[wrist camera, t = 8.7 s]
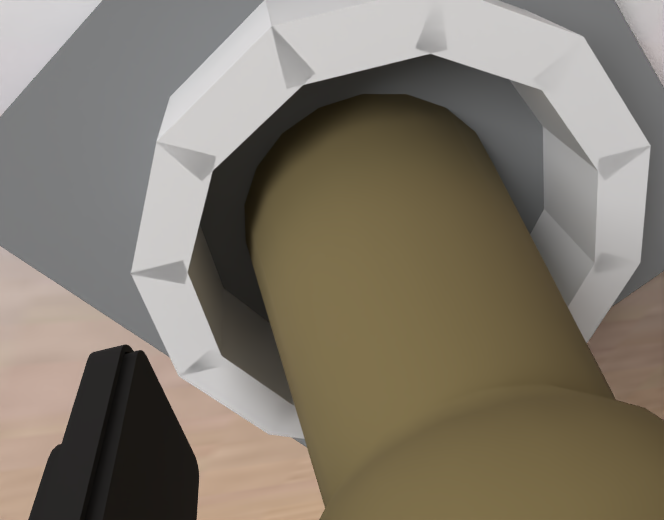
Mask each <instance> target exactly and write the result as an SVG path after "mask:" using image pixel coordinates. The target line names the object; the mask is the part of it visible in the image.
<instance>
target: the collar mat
mask: <svg viewBox="0 0 664 520" xmlns="http://www.w3.org/2000/svg"><path fill="white" fill-rule="evenodd" d="M361 94H408V95H411V96H413V97H416V98H419V99H422V100H425V101H428V102H431V103H434V104H437V105H440V106H442V107H445V108H447V109H448V110H449V111H451V112H452V113H453V114H454V115H455V116H457V117H458V118H459V119H460V120H461V121H463V122H464V123H465V124H466V125H467V126H469V127H470V128H471V129H472V130H474V131H475V132H476V134H477V135H478V137H479V139H480V141H481V143H482V144H483V146H484V148H485V150H486V152H487V153H488V155H489V157H490V159H491V161H492V162H493V164H494V166H495V168H496V170H497V172H498V174H499V176H500V178H501V180H502V182H503V183H504V185H505V187H506V189H507V191H508V193H509V195H510V197H511V199H512V201H513V203H514V205H515V207H516V208H517V210H518V212H519V214H520V216H521V218H522V220H523V222H524V224H525V226H526V228H527V230H528V232H529V233H530V235H531V237H532V239H533V241H534V243H535V245H536V247H537V249H538V251H539V253H540V255H541V257H542V259H543V260H544V262H545V264H546V266H547V268H548V270H549V272H550V274H551V276H552V278H553V280H554V282H555V284H556V285H557V287H558V289H559V291H560V293H561V295H562V297H563V299H564V301H565V303H566V305H567V307H568V309H569V310H570V312H571V314H572V316H573V318H574V320H575V322H576V324H577V326H578V328H579V330H580V332H581V334H582V335H583V337H584V339H585V341H586V343H587V342H588V341H589V339H590V338H591V336H592V335H593V333H594V332H595V330H596V329H597V327H598V326H599V324H600V323H601V321H602V320H603V318H604V317H605V315H606V314H607V312H608V311H609V309H610V308H611V307H612V306H614V305H615V304H616V303H618V302H619V301H621V300H622V299H624V298H625V297H627V296H628V295H630V294H631V293H632V292H634V291H635V290H637V289H638V288H640V287H641V286H643V285H644V284H645V283H647V282H648V281H650V280H651V279H653V278H654V277H656V276H657V275H659V274H660V273H661V272H663V271H664V87H663V86H662V84H661V82H660V80H659V78H658V77H657V75H656V73H655V71H654V70H653V68H652V66H651V64H650V62H649V61H648V59H647V57H646V55H645V54H644V52H643V50H642V48H641V47H640V45H639V43H638V41H637V39H636V38H635V36H634V34H633V32H632V31H631V29H630V27H629V25H628V23H627V22H626V20H625V18H624V16H623V15H622V13H621V11H620V9H619V7H618V6H617V4H616V2H615V0H103V1H102V2H101V3H100V4H99V5H98V6H97V7H96V9H95V10H94V11H93V12H92V13H91V14H90V15H89V16H88V18H87V19H86V20H85V21H84V22H83V23H82V24H81V26H80V27H79V28H78V29H77V30H76V31H75V32H74V34H73V35H72V36H71V37H70V38H69V39H68V40H67V42H66V43H65V44H64V45H63V46H62V47H61V48H60V49H59V51H58V52H57V53H56V54H55V55H54V56H53V57H52V59H51V60H50V61H49V62H48V63H47V64H46V65H45V67H44V68H43V69H42V70H41V71H40V72H39V73H38V75H37V76H36V77H35V78H34V79H33V80H32V81H31V82H30V84H29V85H28V86H27V87H26V88H25V89H24V90H23V92H22V93H21V94H20V95H19V96H18V97H17V98H16V100H15V101H14V102H13V103H12V104H11V105H10V106H9V108H8V109H7V110H6V111H5V112H4V113H3V114H2V115H1V117H0V246H1V247H3V248H4V249H6V250H7V251H9V252H10V253H12V254H13V255H15V256H16V257H18V258H19V259H21V260H22V261H24V262H25V263H27V264H29V265H30V266H32V267H33V268H35V269H36V270H38V271H39V272H41V273H42V274H44V275H45V276H47V277H48V278H50V279H51V280H53V281H54V282H56V283H57V284H59V285H61V286H62V287H64V288H65V289H67V290H68V291H70V292H71V293H73V294H74V295H76V296H77V297H79V298H80V299H82V300H83V301H85V302H86V303H88V304H89V305H91V306H92V307H94V308H96V309H97V310H99V311H100V312H102V313H103V314H105V315H106V316H108V317H109V318H111V319H112V320H114V321H115V322H117V323H118V324H120V325H121V326H123V327H124V328H126V329H127V330H129V331H131V332H132V333H134V334H135V335H137V336H138V337H140V338H141V339H143V340H144V341H146V342H147V343H149V344H150V345H152V346H153V347H155V348H156V349H158V350H159V351H161V352H163V353H164V354H166V355H167V356H169V357H170V358H171V361H172V363H173V365H174V367H175V369H176V371H177V373H178V376H179V377H181V378H182V379H184V380H185V381H187V382H188V383H190V384H192V385H193V386H195V387H196V388H198V389H199V390H201V391H202V392H204V393H206V394H207V395H209V396H210V397H212V398H213V399H215V400H216V401H218V402H220V403H221V404H223V405H224V406H226V407H227V408H229V409H230V410H232V411H234V412H235V413H237V414H238V415H240V416H241V417H243V418H244V419H246V420H247V421H249V422H251V423H252V424H254V425H255V426H257V427H258V428H260V429H261V430H263V431H265V432H266V433H268V434H270V435H278V436H286V437H292V438H293V439H295V440H296V441H298V442H300V443H301V444H303V445H304V446H306V447H307V445H306V442H305V438H304V435H303V432H302V428H301V425H300V422H299V418H298V415H297V412H296V408H295V405H294V402H293V398H292V395H291V392H290V388H289V385H288V381H287V378H286V375H285V371H284V368H283V365H282V361H281V358H280V355H279V351H278V348H277V345H276V341H275V338H274V335H273V331H272V328H271V325H270V321H269V318H268V315H267V311H266V308H265V304H264V301H263V298H262V294H261V291H260V288H259V284H258V281H257V278H256V274H255V271H254V268H253V264H252V261H251V258H250V254H249V251H248V248H247V244H246V236H245V208H244V205H245V202H246V198H247V195H248V192H249V189H250V186H251V183H252V180H253V177H254V174H255V171H256V168H257V166H258V165H259V164H260V162H261V161H262V160H263V158H264V157H265V156H266V154H267V153H268V152H269V150H270V149H271V148H272V146H273V145H274V144H275V142H276V141H277V140H278V139H279V137H280V136H281V135H282V133H284V132H285V131H287V130H288V129H289V128H291V127H292V126H294V125H295V124H297V123H298V122H299V121H301V120H302V119H304V118H305V117H307V116H308V115H309V114H311V113H312V112H314V111H315V110H317V109H318V108H320V107H323V106H326V105H329V104H332V103H336V102H339V101H342V100H345V99H348V98H351V97H354V96H358V95H361Z"/></svg>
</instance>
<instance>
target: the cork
mask: <svg viewBox="0 0 664 520" xmlns="http://www.w3.org/2000/svg"><path fill="white" fill-rule="evenodd" d="M244 208H245V236H246V244H247V248H248V251H249V254H250V258H251V261H252V264H253V268H254V271H255V274H256V278H257V281H258V284H259V288H260V291H261V294H262V298H263V301H264V304H265V308H266V311H267V315H268V318H269V321H270V325H271V328H272V331H273V335H274V338H275V341H276V345H277V348H278V351H279V355H280V358H281V361H282V365H283V368H284V371H285V375H286V378H287V381H288V385H289V388H290V392H291V395H292V398H293V402H294V405H295V408H296V412H297V415H298V418H299V422H300V425H301V428H302V432H303V435H304V438H305V442H306V445H307V448H308V452H309V455H310V458H311V462H312V465H313V469H314V472H315V475H316V479H317V482H318V485H319V489H320V492H321V495H322V499H323V502H324V505H325V510H324V512H323V514H322V516H321V518H320V519H319V520H664V420H662V419H661V418H659V417H658V416H656V415H655V414H653V413H652V412H650V411H648V410H647V409H645V408H643V407H639V406H636V405H632V404H628V403H624V402H621V401H617V400H616V399H615V397H614V395H613V393H612V391H611V389H610V387H609V386H608V384H607V382H606V380H605V378H604V376H603V374H602V372H601V370H600V368H599V366H598V364H597V362H596V361H595V359H594V357H593V355H592V353H591V351H590V349H589V347H588V345H587V343H586V341H585V339H584V337H583V335H582V334H581V332H580V330H579V328H578V326H577V324H576V322H575V320H574V318H573V316H572V314H571V312H570V310H569V309H568V307H567V305H566V303H565V301H564V299H563V297H562V295H561V293H560V291H559V289H558V287H557V285H556V284H555V282H554V280H553V278H552V276H551V274H550V272H549V270H548V268H547V266H546V264H545V262H544V260H543V259H542V257H541V255H540V253H539V251H538V249H537V247H536V245H535V243H534V241H533V239H532V237H531V235H530V233H529V232H528V230H527V228H526V226H525V224H524V222H523V220H522V218H521V216H520V214H519V212H518V210H517V208H516V207H515V205H514V203H513V201H512V199H511V197H510V195H509V193H508V191H507V189H506V187H505V185H504V183H503V182H502V180H501V178H500V176H499V174H498V172H497V170H496V168H495V166H494V164H493V162H492V161H491V159H490V157H489V155H488V153H487V152H486V150H485V148H484V146H483V144H482V143H481V141H480V139H479V137H478V135H477V134H476V132H475V131H474V130H472V129H471V128H470V127H469V126H467V125H466V124H465V123H464V122H463V121H461V120H460V119H459V118H458V117H457V116H455V115H454V114H453V113H452V112H451V111H449V110H448V109H447V108H445V107H442V106H440V105H437V104H434V103H431V102H428V101H425V100H422V99H419V98H416V97H413V96H411V95H408V94H361V95H358V96H354V97H351V98H348V99H345V100H342V101H339V102H336V103H332V104H329V105H326V106H323V107H320V108H318V109H317V110H315V111H314V112H312V113H311V114H309V115H308V116H307V117H305V118H304V119H302V120H301V121H299V122H298V123H297V124H295V125H294V126H292V127H291V128H289V129H288V130H287V131H285V132H284V133H282V135H281V136H280V137H279V139H278V140H277V141H276V142H275V144H274V145H273V146H272V148H271V149H270V150H269V152H268V153H267V154H266V156H265V157H264V158H263V160H262V161H261V162H260V164H259V165H258V166H257V168H256V171H255V174H254V177H253V180H252V183H251V186H250V189H249V192H248V195H247V198H246V202H245V205H244Z"/></svg>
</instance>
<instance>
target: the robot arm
mask: <svg viewBox="0 0 664 520" xmlns="http://www.w3.org/2000/svg"><path fill="white" fill-rule="evenodd" d="M198 487H199V470H198V464H197V460H196V457H195V455H194V453H193V451H192V449H191V447H190V445H189V443H188V440H187V438H186V436H185V434H184V432H183V430H182V428H181V426H180V424H179V422H178V420H177V418H176V416H175V414H174V412H173V410H172V408H171V406H170V403H169V401H168V399H167V397H166V395H165V393H164V391H163V389H162V387H161V385H160V383H159V381H158V379H157V377H156V375H155V373H154V371H153V369H152V366H151V364H150V362H149V360H148V358H147V356H146V355H145V353H144V352H143V351H141V350H139V351H135V352H134V351H133V350H132V348H131V347H130V346H129V345H121V346H117V347H113V348H109V349H105V350H101V351H96V352H93V353H91V354H90V355H89V358H88V360H87V363H86V366H85V370H84V373H83V376H82V379H81V383H80V386H79V389H78V392H77V396H76V399H75V402H74V405H73V408H72V412H71V415H70V418H69V421H68V425H67V428H66V431H65V434H64V438H63V441H62V444H60V445H57V446H56V447H55V448H54V449H53V450H52V452H51V454H50V456H49V458H48V461H47V464H46V467H45V470H44V473H43V476H42V479H41V482H40V486H39V489H38V492H37V495H36V498H35V501H34V504H33V507H32V510H31V513H30V516H29V519H28V520H196V519H197V503H198Z"/></svg>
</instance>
